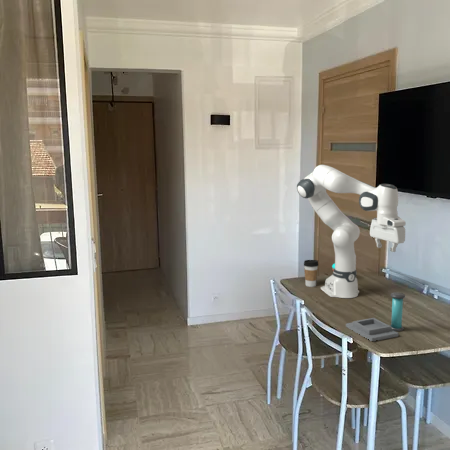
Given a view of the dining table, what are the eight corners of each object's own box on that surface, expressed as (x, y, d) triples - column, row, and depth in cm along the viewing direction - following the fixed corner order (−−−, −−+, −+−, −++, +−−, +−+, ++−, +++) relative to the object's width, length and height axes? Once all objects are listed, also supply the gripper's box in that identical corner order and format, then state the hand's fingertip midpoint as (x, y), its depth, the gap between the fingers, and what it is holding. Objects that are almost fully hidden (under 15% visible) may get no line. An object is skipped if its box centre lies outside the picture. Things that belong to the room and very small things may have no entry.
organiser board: (345, 326, 213) (346, 319, 212) (371, 322, 218) (371, 314, 217) (371, 341, 196) (371, 333, 196) (398, 336, 201) (398, 328, 201)
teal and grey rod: (386, 327, 211) (387, 293, 209) (396, 325, 213) (398, 291, 211) (395, 332, 206) (397, 297, 203) (406, 330, 208) (408, 295, 205)
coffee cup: (314, 288, 270) (315, 263, 268) (301, 286, 274) (301, 261, 272) (320, 284, 277) (320, 259, 275) (306, 282, 281) (307, 258, 279)
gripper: (366, 217, 222) (366, 246, 224) (396, 223, 203) (395, 254, 205) (377, 216, 224) (377, 244, 226) (408, 222, 205) (407, 253, 208)
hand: (386, 249), depth 216 cm, fingers open, 8 cm apart
